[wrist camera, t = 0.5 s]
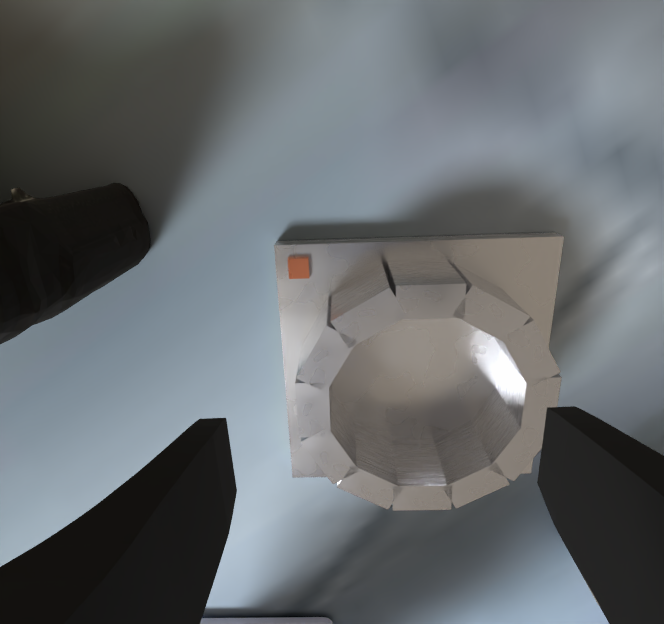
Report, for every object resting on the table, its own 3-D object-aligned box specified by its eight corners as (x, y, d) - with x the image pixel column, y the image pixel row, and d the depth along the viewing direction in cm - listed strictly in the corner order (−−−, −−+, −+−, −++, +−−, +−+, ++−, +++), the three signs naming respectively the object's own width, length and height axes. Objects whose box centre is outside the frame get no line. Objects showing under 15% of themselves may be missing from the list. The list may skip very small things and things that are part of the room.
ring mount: (524, 462, 23) (559, 523, 19) (294, 466, 23) (285, 527, 19) (555, 232, 19) (605, 255, 15) (276, 240, 19) (262, 265, 15)
